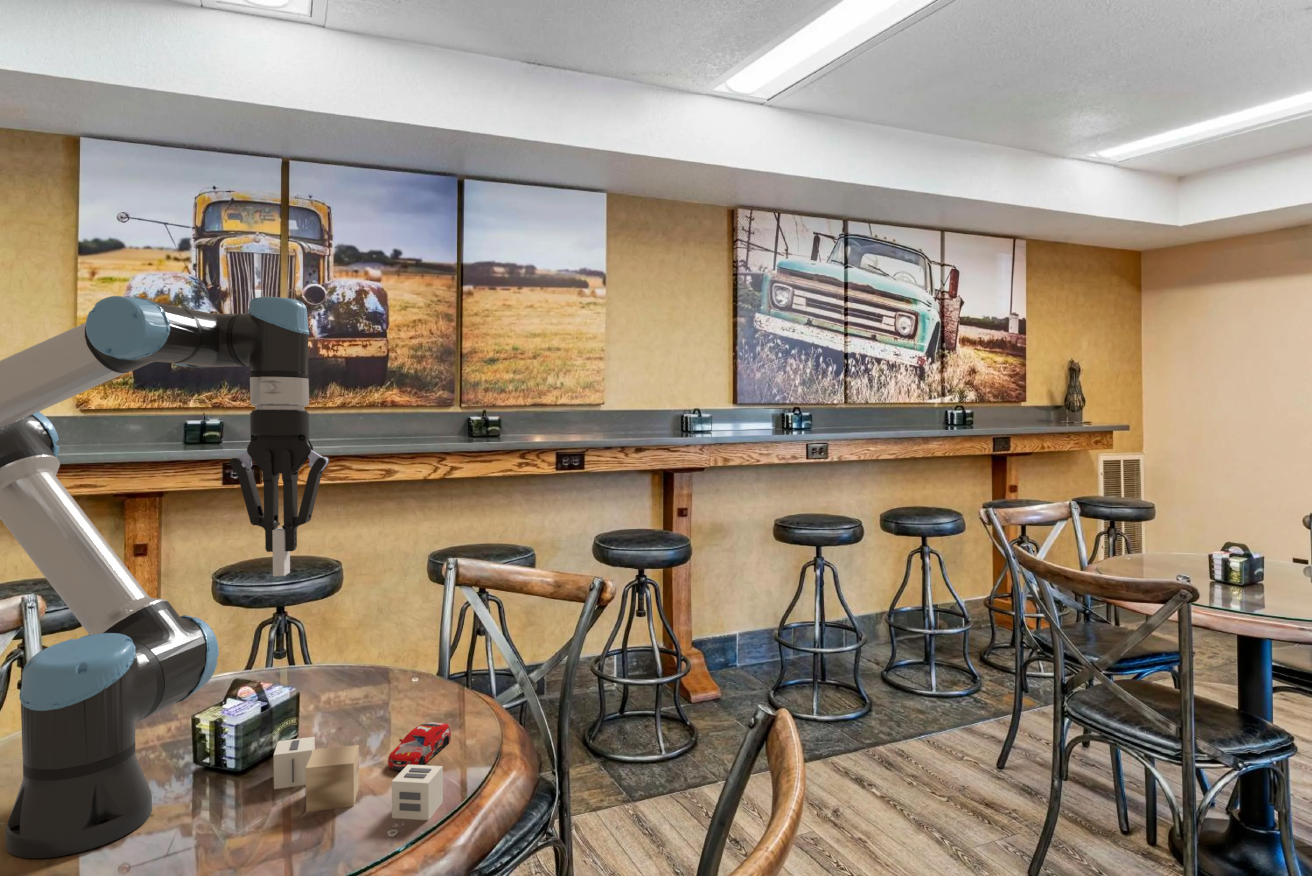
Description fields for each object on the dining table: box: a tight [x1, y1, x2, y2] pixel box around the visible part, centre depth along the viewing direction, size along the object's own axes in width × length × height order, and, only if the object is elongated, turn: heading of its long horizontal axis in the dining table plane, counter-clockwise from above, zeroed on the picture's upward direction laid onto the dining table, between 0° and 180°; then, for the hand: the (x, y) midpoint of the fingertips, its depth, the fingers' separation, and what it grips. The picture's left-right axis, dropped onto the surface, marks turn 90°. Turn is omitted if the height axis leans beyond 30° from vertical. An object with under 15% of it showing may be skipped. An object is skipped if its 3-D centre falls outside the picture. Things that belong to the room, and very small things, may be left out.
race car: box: [387, 721, 452, 771], centre depth 122 cm, size 13×5×4 cm, turn 166°
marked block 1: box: [273, 736, 316, 790], centre depth 113 cm, size 5×6×5 cm
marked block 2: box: [391, 764, 444, 821], centre depth 105 cm, size 5×5×5 cm
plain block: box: [305, 744, 360, 813], centre depth 108 cm, size 6×6×6 cm
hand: (281, 574), depth 111 cm, fingers closed
